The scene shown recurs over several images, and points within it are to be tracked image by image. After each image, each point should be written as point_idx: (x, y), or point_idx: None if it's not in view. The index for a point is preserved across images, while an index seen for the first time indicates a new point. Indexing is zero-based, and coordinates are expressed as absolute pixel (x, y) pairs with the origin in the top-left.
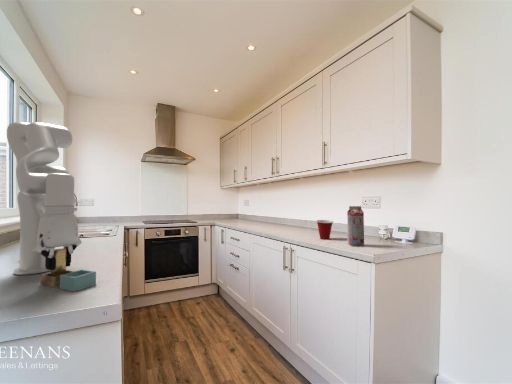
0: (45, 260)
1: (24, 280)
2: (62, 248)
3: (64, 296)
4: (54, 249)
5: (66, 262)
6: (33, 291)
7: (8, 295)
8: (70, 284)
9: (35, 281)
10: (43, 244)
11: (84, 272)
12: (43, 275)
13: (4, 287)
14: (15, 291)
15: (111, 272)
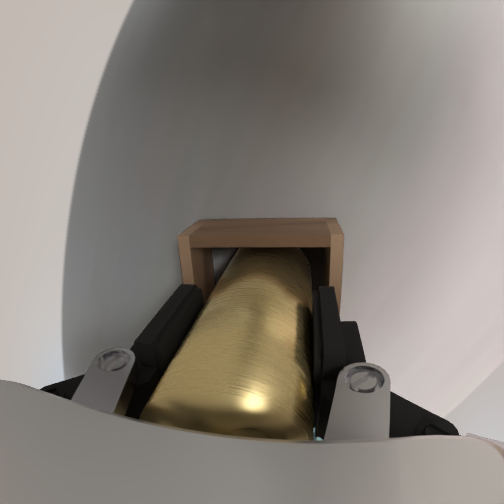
0: (133, 346)
1: (202, 21)
2: (299, 433)
3: None
4: (194, 403)
5: None
6: (140, 300)
7: (74, 253)
8: None
9: (219, 104)
10: (15, 399)
11: (315, 438)
12: (182, 262)
13: (98, 87)
14: (98, 218)
15: (485, 354)
